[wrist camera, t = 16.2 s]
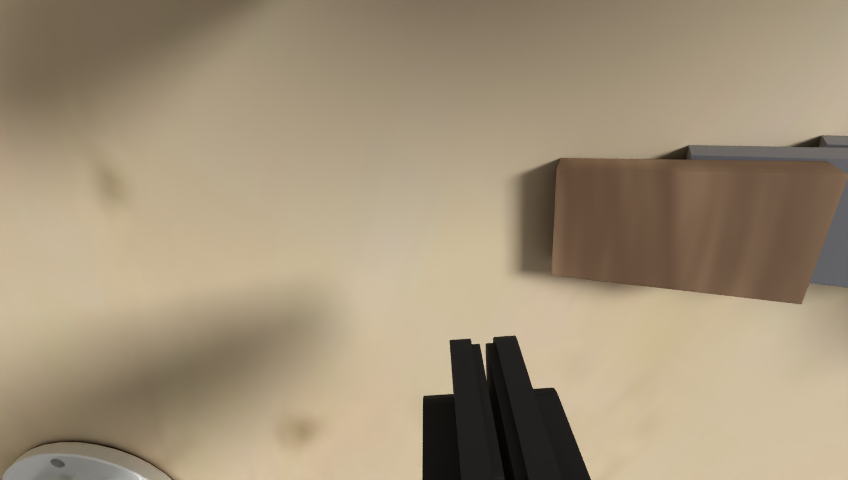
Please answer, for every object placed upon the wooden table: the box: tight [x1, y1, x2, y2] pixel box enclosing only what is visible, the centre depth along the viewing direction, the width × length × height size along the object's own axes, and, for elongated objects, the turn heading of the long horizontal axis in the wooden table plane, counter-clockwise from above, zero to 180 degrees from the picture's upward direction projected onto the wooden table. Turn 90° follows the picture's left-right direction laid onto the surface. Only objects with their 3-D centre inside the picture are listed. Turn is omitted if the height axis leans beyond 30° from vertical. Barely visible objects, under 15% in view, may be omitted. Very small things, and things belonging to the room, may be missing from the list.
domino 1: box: [551, 158, 848, 304], centre depth 17 cm, size 2×5×9 cm
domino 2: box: [686, 145, 848, 288], centre depth 16 cm, size 2×5×9 cm
